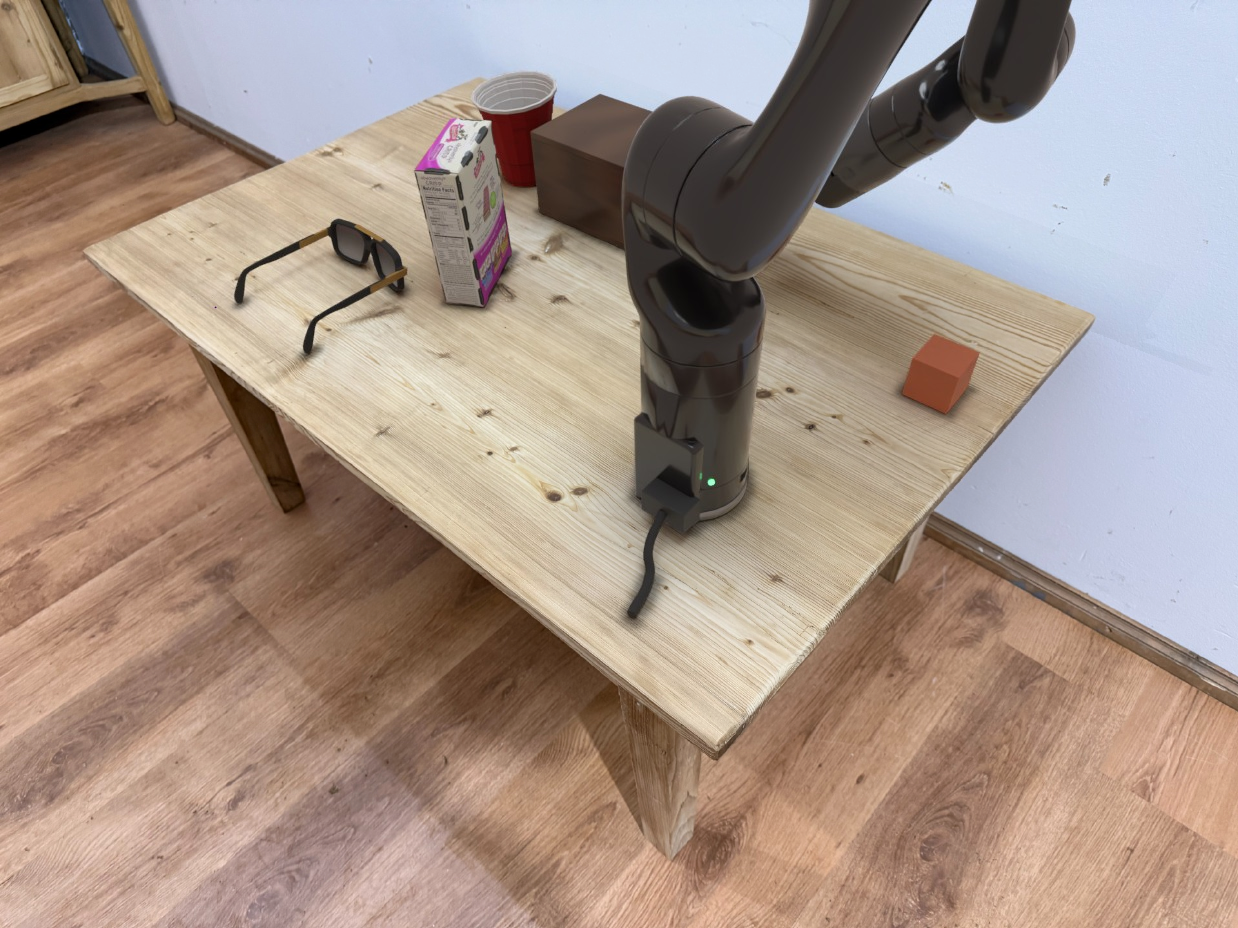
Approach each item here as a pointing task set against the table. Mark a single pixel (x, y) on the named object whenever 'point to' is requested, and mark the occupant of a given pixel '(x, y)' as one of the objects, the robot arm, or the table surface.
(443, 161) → the candy bar box
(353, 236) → the sunglasses
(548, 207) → the dark wooden cube
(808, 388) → the table surface
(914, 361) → the block
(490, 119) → the plastic cup
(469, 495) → the table surface
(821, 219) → the table surface
